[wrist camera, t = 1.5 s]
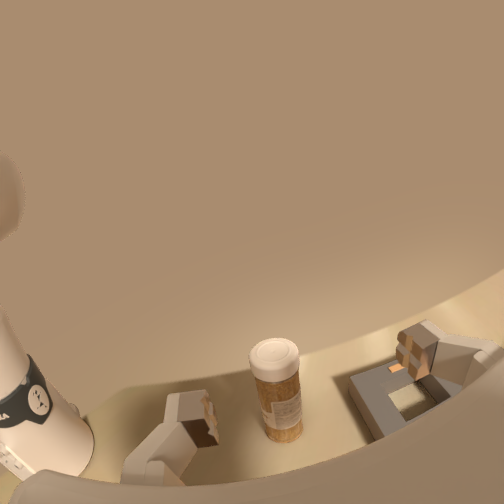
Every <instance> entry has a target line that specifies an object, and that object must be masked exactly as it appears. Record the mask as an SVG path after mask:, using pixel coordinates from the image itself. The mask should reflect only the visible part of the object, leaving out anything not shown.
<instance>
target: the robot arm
mask: <svg viewBox="0 0 504 504" xmlns="http://www.w3.org/2000/svg"><path fill="white" fill-rule="evenodd" d="M24 207H25V187H24V182H23V178H22V175H21V172H20V171H19V168H18V167H17V165H16V164H15V162H14V161H13V160H12V159H11V158H10V157H9V156H8V155H6V154H4V153H3V152H1V151H0V242H1V241H2V240H4V239H5V238H7V237H8V236H9V235H11V234H12V233H13V232H14V231H16V230H17V229H18V227H19V224H20V222H21V219H22V216H23V212H24ZM397 340H398V341H399V344H398V346H397V347H396V357H397V360H398V362H399V364H400V365H401V366H402V367H405V368H408V371H407V372H408V374H409V375H410V376H411V377H412V378H413V379H414V380H415V381H416V380H418V379H420V378H422V377H424V376H426V375H428V374H431V375H434V376H436V377H439V378H442V379H445V380H447V381H450V382H453V383H456V384H458V385H461V386H462V389H461V391H460V392H459V393H458V394H457V395H455V396H454V397H452V398H451V399H449V400H448V401H446V402H445V403H444V404H442V405H440V406H439V407H437V408H436V409H434V410H433V411H431V412H429V413H428V414H426V415H425V416H423V417H421V418H419V419H418V420H416V421H414V422H412V423H411V424H409V425H407V426H405V427H403V428H401V429H400V430H398V431H396V432H394V433H392V434H390V435H388V436H386V437H384V438H381V439H379V440H377V441H375V442H373V443H371V444H368V445H366V446H364V447H361V448H359V449H356V450H354V451H351V452H349V453H346V454H344V455H341V456H338V457H335V458H333V459H330V460H327V461H324V462H321V463H318V464H314V465H311V466H308V467H304V468H301V469H297V470H293V471H289V472H285V473H281V474H276V475H272V476H267V477H262V478H257V479H251V480H245V481H238V482H231V483H222V484H212V485H199V486H186V485H185V484H184V483H183V482H182V481H181V480H180V479H179V478H180V477H181V475H182V474H183V472H184V471H185V469H186V468H187V466H188V465H189V463H190V461H191V460H192V458H193V457H194V455H195V453H196V452H197V450H198V448H202V447H210V446H216V445H219V438H218V431H217V429H216V425H217V424H218V422H217V415H216V411H215V408H214V405H213V403H212V402H210V401H209V394H208V392H207V390H206V389H203V390H195V391H187V392H181V393H170V394H169V395H168V396H167V401H166V408H165V414H164V421H163V423H160V424H159V425H158V426H157V427H156V428H155V429H154V430H153V431H152V432H151V433H150V434H149V435H148V436H147V437H146V438H145V439H144V440H143V441H142V442H141V443H140V444H139V445H138V446H137V447H136V448H135V449H134V450H133V451H132V452H131V453H130V454H129V455H128V456H127V457H126V458H125V460H124V465H123V470H122V475H121V480H120V484H119V483H111V482H104V481H97V480H92V479H86V478H81V477H77V476H78V475H79V474H80V473H81V472H82V471H83V470H84V469H85V467H86V466H87V464H88V463H89V461H90V458H91V456H92V452H93V446H94V440H93V435H92V432H91V430H90V428H89V426H88V425H87V424H86V423H85V422H84V421H83V420H82V419H81V417H80V414H79V411H78V409H77V407H76V406H75V405H74V404H72V403H69V404H68V402H67V401H66V400H65V399H64V398H63V396H62V395H61V394H60V393H59V392H58V390H57V389H56V388H55V387H54V386H53V384H52V383H51V382H50V381H49V380H48V379H47V378H44V376H43V375H42V373H41V372H40V369H39V367H38V366H37V364H36V363H35V362H34V361H33V359H32V358H31V356H30V355H28V354H26V352H25V350H24V349H23V347H22V345H21V343H20V341H19V339H18V337H17V335H16V333H15V331H14V329H13V327H12V325H11V323H10V321H9V318H8V316H7V314H6V312H5V310H4V308H3V307H2V306H1V305H0V463H2V464H3V465H4V466H5V467H6V468H7V469H8V470H10V471H11V472H12V473H13V474H14V475H15V476H17V477H18V478H19V479H20V480H22V481H23V482H21V483H20V484H19V485H18V486H17V487H16V489H15V490H14V492H13V494H12V496H11V498H10V500H9V503H8V504H504V349H503V348H502V347H500V346H499V345H498V344H496V343H495V342H493V341H492V340H486V339H479V338H473V337H467V336H461V335H455V334H449V335H448V334H446V333H445V332H444V331H442V330H441V329H440V328H438V327H437V326H436V325H434V324H433V323H432V322H430V321H429V320H426V319H425V320H423V321H421V322H419V323H417V324H415V325H413V326H411V327H409V328H407V329H405V330H402V331H400V332H399V333H398V337H397Z"/></svg>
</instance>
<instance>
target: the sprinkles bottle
mask: <svg viewBox="0 0 504 504" xmlns="http://www.w3.org/2000/svg"><path fill="white" fill-rule="evenodd" d="M249 362H250V367H251V371H252V373H253V375H254V376H255V380H256V385H257V389H258V396H259V401H260V406H261V410H262V414H263V419H264V421H265V424H266V433H267V435H268V437H269V438H270V439H271V440H273V441H275V442H279V443H288V442H291V441H293V440H295V439H297V438H298V437H299V436H300V435H301V433H302V431H303V424H302V421H301V416H302V408H301V391H300V383H299V371H298V370H299V365H300V361H299V352H298V348H297V346H296V345H295V344H294V343H293V342H291V341H290V340H287V339H283V338H270V339H267V340H264V341H261V342H259V343H257V344H256V345H255V346H254V347H253V348H252V349H251V351H250V353H249Z"/></svg>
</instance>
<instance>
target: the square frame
mask: <svg viewBox="0 0 504 504" xmlns="http://www.w3.org/2000/svg"><path fill="white" fill-rule="evenodd" d="M407 371H408V368H405V367H402V366H401V365H400V364H399V362H398V360H397V359H396V360H394V361H391V362H389V363H386V364H384V365H381V366H379V367H376V368H373V369H371V370H368V371H365V372H362V373H359V374H356V375H353V376H350V379H349V389H348V392H349V394H350V396H351V397H352V399H353V401H354V403H355V405H356V406H357V408H358V410H359V412H360V414H361V415H362V417H363V419H364V421H365V423H366V425H367V426H368V428H369V430H370V432H371V434H372V436H373V438H374V439H375V441H377V440H379V439H381V438H384V437H386V436H388V435H390V434H392V433H394V432H396V431H398V430H400V429H401V428H403V427H405V426H407V425H409V424H411V423H412V422H414V421H416V420H418V419H419V418H421V417H423V416H425V415H426V414H428V413H429V412H431V411H433V410H434V409H436V408H437V407H439V406H440V405H442V404H444V403H445V402H446V401H448V400H449V399H451V398H452V397H454V396H455V395H457V394H458V393H459V392H460V391H461V389H462V386H461V385H458V384H456V383H453V382H450V381H447V380H445V379H442V378H439V377H436V376H434V375H431V374H428V375H426V376H424V377H422V378H420V379H418V380H419V381H420V382H421V384H422V385H423V386H424V387H425V388H426V390H427V391H428V392H429V393H430V394H431V396H432V397H433V398H434V399H435V400H436V402H437V403H438V405H437V406H435V407H433V408H431V409H430V410H428V411H426V412H424V413H422V414H421V415H419V416H417V417H415V418H413V419H411V420H409V421H407V422H406V421H405V420H404V418H403V417H402V415H401V414H400V412H399V411H398V409H397V408H396V406H395V405H394V403H393V402H392V400H391V399H390V398H389V396H388V395H387V394H389V393H391V392H394V391H396V390H398V389H400V388H403V387H405V386H407V385H409V384H411V383H413V382H415V380H414V379H413V378H412V377H411V376H410V375H409V374H408V372H407ZM416 381H417V380H416Z"/></svg>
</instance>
